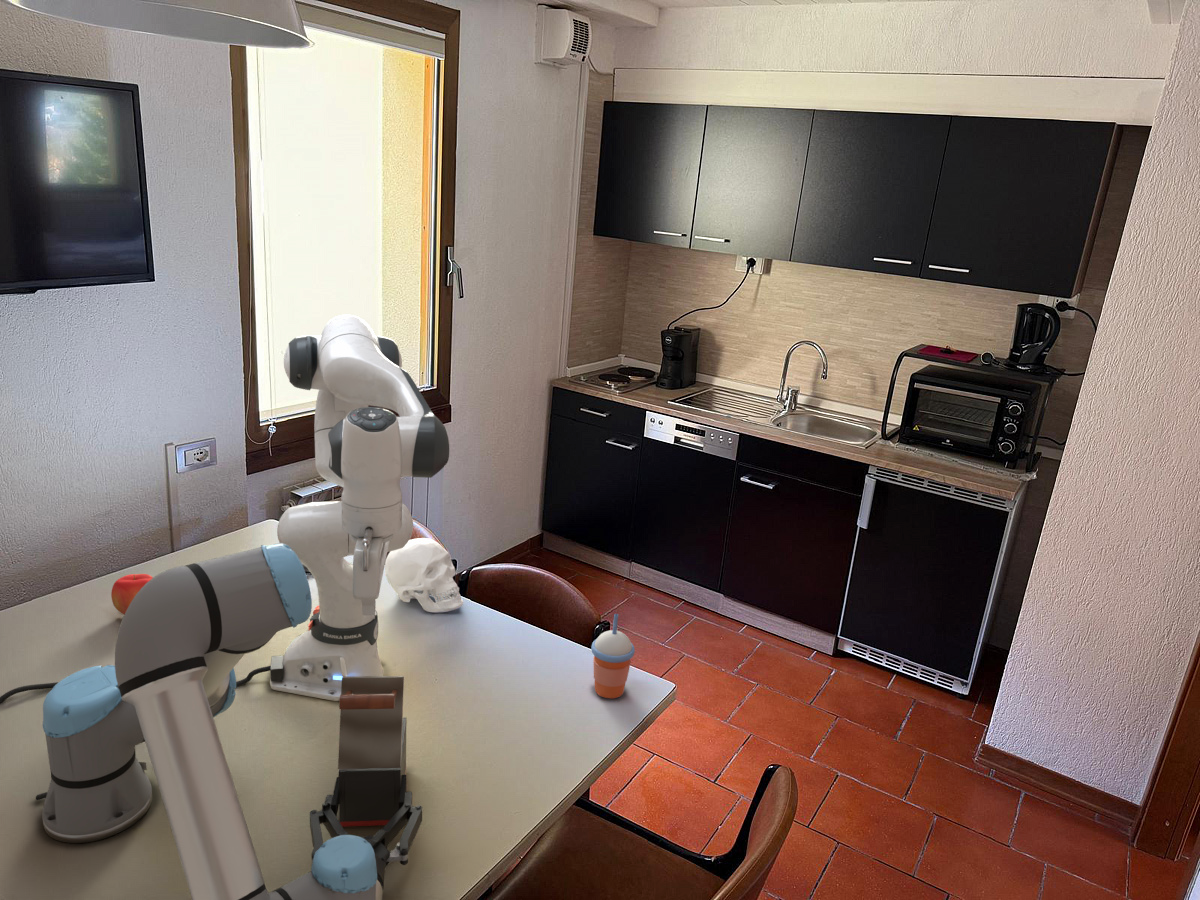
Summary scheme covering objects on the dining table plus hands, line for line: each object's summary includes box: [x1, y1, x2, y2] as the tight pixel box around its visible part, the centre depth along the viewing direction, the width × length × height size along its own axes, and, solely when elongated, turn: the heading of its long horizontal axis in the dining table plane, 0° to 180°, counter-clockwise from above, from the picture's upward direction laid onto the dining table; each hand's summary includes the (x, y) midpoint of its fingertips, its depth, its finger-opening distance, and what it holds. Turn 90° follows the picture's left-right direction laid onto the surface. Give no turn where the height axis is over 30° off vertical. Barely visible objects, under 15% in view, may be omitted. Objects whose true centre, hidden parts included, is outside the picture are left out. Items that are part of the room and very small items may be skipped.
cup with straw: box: [590, 613, 636, 699], centre depth 179 cm, size 9×9×18 cm
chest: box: [337, 717, 407, 828], centre depth 144 cm, size 13×10×11 cm
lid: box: [337, 675, 405, 770], centre depth 132 cm, size 14×10×10 cm
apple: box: [110, 573, 154, 616], centre depth 194 cm, size 10×10×10 cm
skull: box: [384, 537, 465, 614], centre depth 211 cm, size 13×22×16 cm, turn 67°
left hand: (371, 782), depth 140 cm, fingers closed on chest, 10 cm apart
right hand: (372, 598), depth 133 cm, fingers open, 8 cm apart
